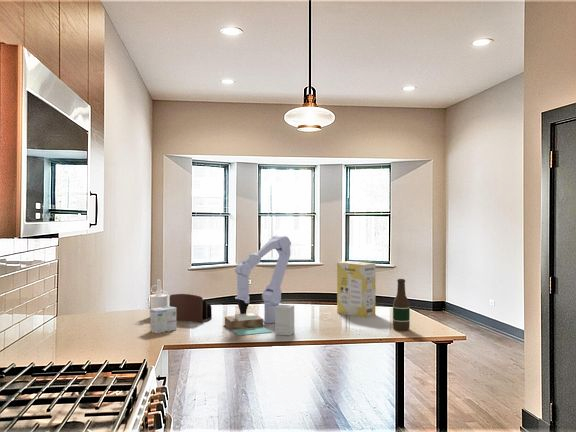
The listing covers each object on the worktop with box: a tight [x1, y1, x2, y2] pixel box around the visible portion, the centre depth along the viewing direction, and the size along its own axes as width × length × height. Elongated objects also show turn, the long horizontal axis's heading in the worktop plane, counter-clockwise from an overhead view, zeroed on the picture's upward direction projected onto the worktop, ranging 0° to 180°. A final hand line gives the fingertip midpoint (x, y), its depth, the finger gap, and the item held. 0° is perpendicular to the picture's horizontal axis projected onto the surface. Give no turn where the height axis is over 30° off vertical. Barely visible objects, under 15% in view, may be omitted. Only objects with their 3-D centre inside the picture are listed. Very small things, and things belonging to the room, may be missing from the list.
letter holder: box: [169, 293, 213, 324], centre depth 263 cm, size 10×20×14 cm, turn 68°
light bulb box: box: [149, 305, 178, 334], centre depth 238 cm, size 11×7×11 cm, turn 134°
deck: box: [224, 313, 264, 331], centre depth 248 cm, size 16×12×4 cm
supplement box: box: [274, 304, 296, 336], centre depth 232 cm, size 7×7×13 cm
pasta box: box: [336, 260, 376, 319], centre depth 277 cm, size 18×10×28 cm, turn 44°
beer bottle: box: [392, 278, 411, 332], centre depth 240 cm, size 8×8×24 cm
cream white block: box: [234, 312, 257, 321], centre depth 245 cm, size 9×6×2 cm, turn 112°
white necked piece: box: [149, 279, 171, 309], centre depth 270 cm, size 10×9×20 cm
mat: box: [231, 326, 272, 337], centre depth 236 cm, size 16×11×1 cm
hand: (243, 315), depth 249 cm, fingers closed
